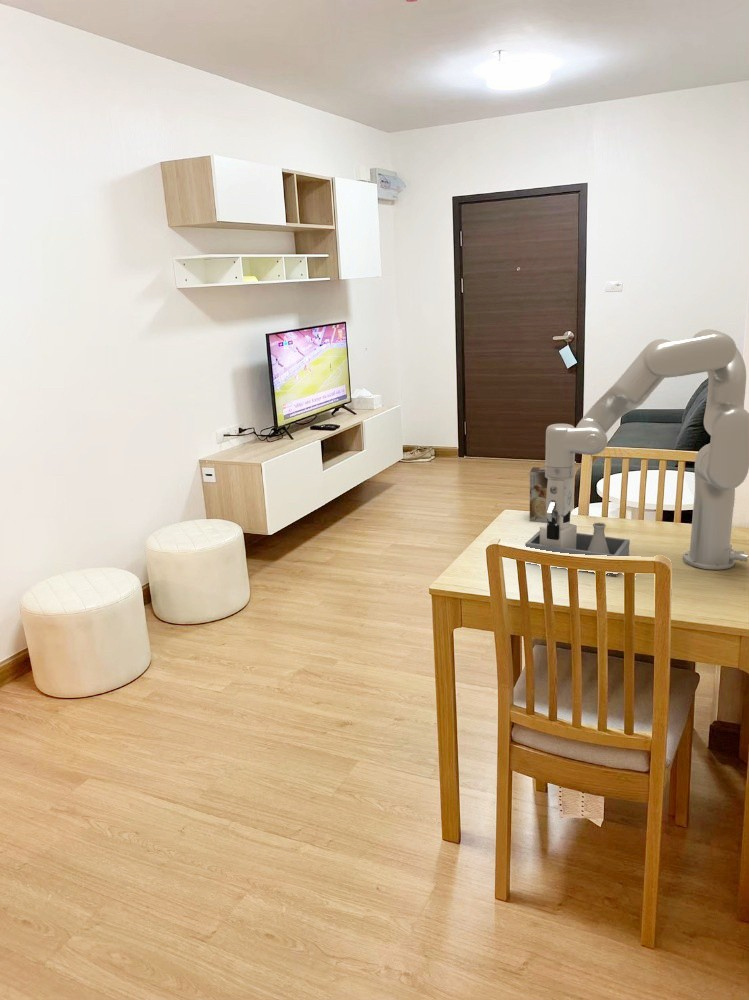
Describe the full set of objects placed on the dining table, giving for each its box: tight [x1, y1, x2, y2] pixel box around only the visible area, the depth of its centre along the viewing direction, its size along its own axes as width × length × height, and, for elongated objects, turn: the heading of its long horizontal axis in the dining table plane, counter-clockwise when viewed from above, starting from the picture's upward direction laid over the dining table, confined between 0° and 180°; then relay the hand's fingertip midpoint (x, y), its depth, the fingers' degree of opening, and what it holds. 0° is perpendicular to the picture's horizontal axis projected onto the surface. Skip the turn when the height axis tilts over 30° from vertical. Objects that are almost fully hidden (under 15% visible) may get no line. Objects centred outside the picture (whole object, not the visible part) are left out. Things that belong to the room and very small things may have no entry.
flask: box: [587, 522, 610, 554], centre depth 205 cm, size 7×7×10 cm
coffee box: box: [529, 466, 548, 523], centre depth 242 cm, size 9×6×16 cm
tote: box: [524, 530, 631, 578], centre depth 208 cm, size 24×14×6 cm, turn 60°
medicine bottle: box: [539, 511, 578, 549], centre depth 209 cm, size 7×7×12 cm
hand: (558, 533), depth 210 cm, fingers closed on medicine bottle, 8 cm apart
